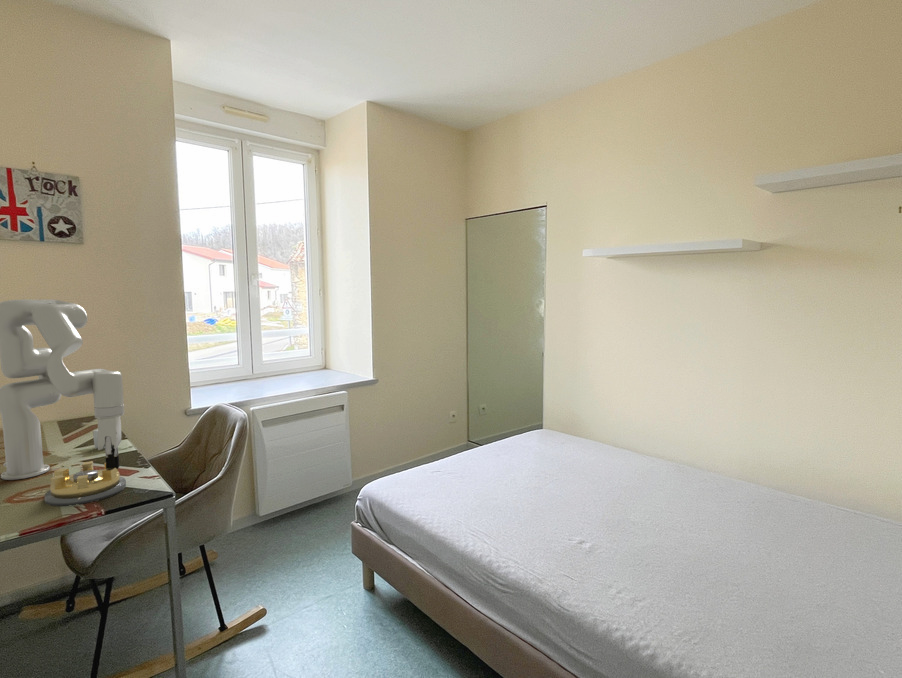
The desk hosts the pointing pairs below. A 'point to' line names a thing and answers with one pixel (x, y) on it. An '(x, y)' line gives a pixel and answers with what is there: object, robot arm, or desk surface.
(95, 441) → the skincare box
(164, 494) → the desk surface
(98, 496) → the base plate
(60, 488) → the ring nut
